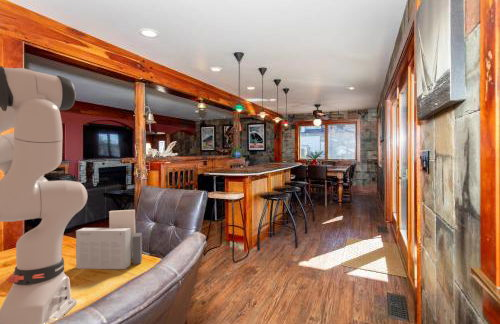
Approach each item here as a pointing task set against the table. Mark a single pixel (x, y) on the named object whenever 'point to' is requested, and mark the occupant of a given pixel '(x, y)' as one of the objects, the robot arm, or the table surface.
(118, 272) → the table surface
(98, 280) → the table surface
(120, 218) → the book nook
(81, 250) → the skincare box
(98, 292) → the table surface
